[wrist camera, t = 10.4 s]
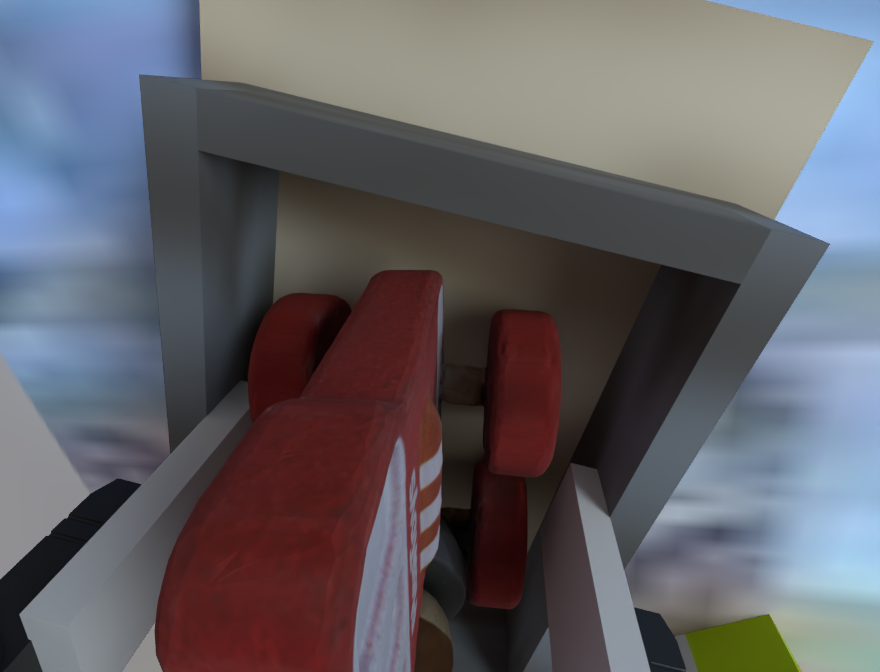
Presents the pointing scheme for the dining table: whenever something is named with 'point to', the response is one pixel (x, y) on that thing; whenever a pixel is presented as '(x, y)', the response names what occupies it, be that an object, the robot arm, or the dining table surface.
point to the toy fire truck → (361, 490)
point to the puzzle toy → (737, 648)
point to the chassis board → (500, 214)
